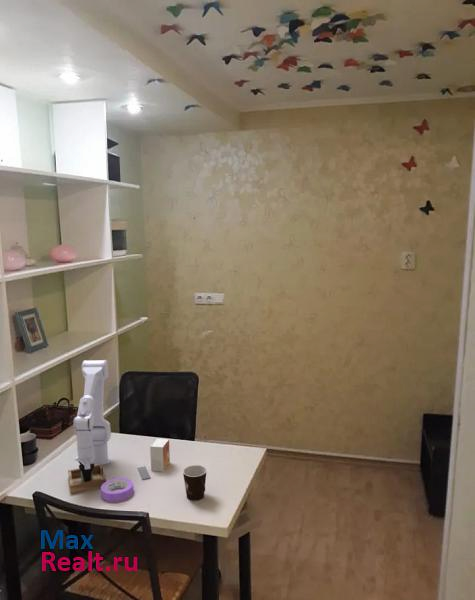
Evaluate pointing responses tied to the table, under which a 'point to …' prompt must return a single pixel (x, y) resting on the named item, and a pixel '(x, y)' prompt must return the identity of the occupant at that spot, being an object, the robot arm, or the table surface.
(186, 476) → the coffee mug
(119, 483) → the masking tape
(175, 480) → the table surface
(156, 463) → the small box
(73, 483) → the wooden tray
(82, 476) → the block
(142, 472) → the mat
